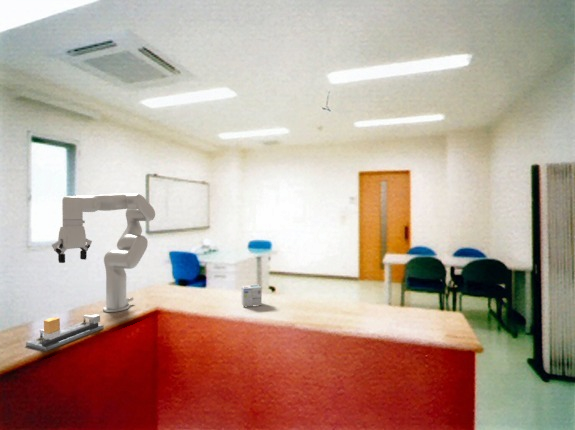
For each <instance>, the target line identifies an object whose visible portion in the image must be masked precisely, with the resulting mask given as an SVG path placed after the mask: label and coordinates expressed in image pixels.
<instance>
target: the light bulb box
mask: <svg viewBox="0 0 575 430" xmlns="http://www.w3.org/2000/svg"><path fill="white" fill-rule="evenodd" d="M262 293H263V292H262V286H261V285H260V284H249V285H241V306H242V305H243V306H253V305H261V306H262V299H263V298H262V296H263V295H262ZM243 306H242V307H243ZM253 307H254V306H253Z"/></svg>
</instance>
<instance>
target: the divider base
mask: <svg viewBox="0 0 575 430" xmlns="http://www.w3.org/2000/svg"><path fill="white" fill-rule="evenodd" d="M82 318H83V319H82V320H83V321H82V322H79V323H76V324H73V325H71V326H68V327H65V328H62V329H60V336H59V337H56V338H54V339H51V340H47V339H44V335H43V337H42V338H40V336H39V337H37V338H34V339H31V340H28V341H26V342H25V346H26V347H29V348H33V349H37V350H40V351H43V352H48V351H50V350H52V349H55V348H58V347H60V346H62V345H65V344H69V343H70V342H73V341H75V340H77V339H82V338H84V337H86V336H87V335H91V334H92V333H96V332H98V331H100V330H103V329H104V325H103V324H99V323H101V314H91V315H90V314H84V315H83V316H82ZM86 319H88V321H86Z"/></svg>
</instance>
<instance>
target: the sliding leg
mask: <svg viewBox="0 0 575 430" xmlns="http://www.w3.org/2000/svg"><path fill="white" fill-rule="evenodd" d="M60 321H61V318H60V317H55V316H54V317H50V318H47V319H44V320H43V328H41V329H39V337H40V338H42V337H43V336H44V339H47V340H51V339H54V338H56V337H59V336H60V330H61V329H60V328H61V326H60V325H61V322H60Z"/></svg>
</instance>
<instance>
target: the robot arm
mask: <svg viewBox="0 0 575 430" xmlns="http://www.w3.org/2000/svg"><path fill="white" fill-rule="evenodd" d="M61 207H62V208H61V209H62V214H61V215H62V226H60V228H59V231H58V238H57V241H56V242H54V243H53V244H51V247H52V249H53V251H54V252H56V254H57V255H58V258H57V260H58V263H60V264H65V263H66V254H65V252H66V251H67V250H72V249H80V253H79V257H80V260H85V261H86V260H87V251H88V250H89V249H90V247H91V245H92V242H93V240H90V239H89V238H87V235H86V229H85V226H84V224H85V221H86V220H83V218H84V216H83V214H84V213H95V212H98V211H106V212H107V211H108V212H109V211H118V210H119V211H120V210H126V211H125V218H126V219H125V220H126V224H127V225H126V228H125V230H124V231H123V233H122V234H121V236H120V237H119V239H118V241H117V243H116V247H117V249H112V250H110V251H107V252H106V253H105V254H104V257H103V264H104V268H105V274H106V275H105V278H106V279H105V281H106V282H105V285H106V287H105V291H106V292H105V301H106V302H105V303H106V304H105V306H104V307H102V311H103V312H105V313H116V312H121V311H125V310H127V309H129V308H130V304H129V303H130V302H132V301H134V297H133V296H132V297H129V298H128V297H127V273H126V272H127V271H126V270H125V269H127V270H130V269H134V268H135V267H137V266H138V264H139V263H140V261H141V259H142V257H143V256H144V254H145V252H146V251H147V248H148V243H149V242H148V239H147V238H146V236H144V235H142V234H143V233H142V232H143V227H142V225H141V223H140V222H150V221H153V220H155V217H156V212H155V211H156V210H155V209H154V207H153V206H152V205H151V204H150V203H149V201H148V200H147V198H145V196H143V195H142V194H140V193H110V194H109V193H108V194H107V193H106V194H98V195H96V194H95V195H76V196H75V195H73V196H71V195H67V196H66V195H65V196H63V198H62V206H61Z"/></svg>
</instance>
